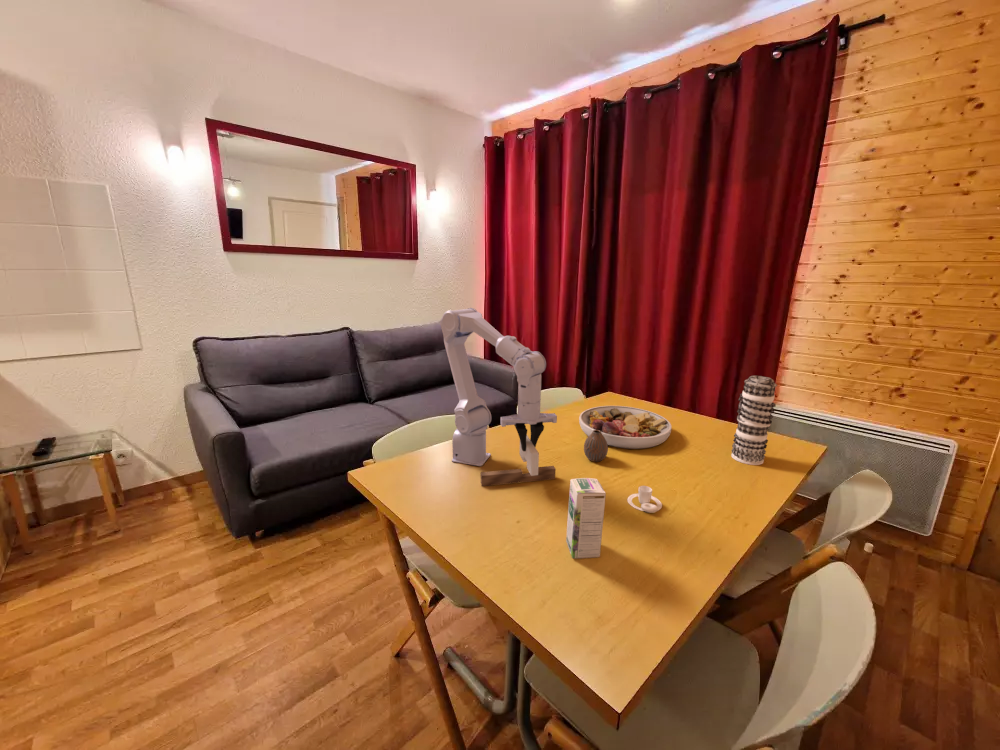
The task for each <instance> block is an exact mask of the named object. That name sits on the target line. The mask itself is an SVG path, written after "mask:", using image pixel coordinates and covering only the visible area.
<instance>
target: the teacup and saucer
mask: <svg viewBox="0 0 1000 750" xmlns="http://www.w3.org/2000/svg"><path fill="white" fill-rule="evenodd" d="M652 493H653V489H652V487H650V486H647V485H640V486H638V493H632V494H630V495H628V497H627V499H626V501H627V503H628V505H630V506H631V507H632V508H634V509H636V510H638V511H641V512H645V513H648V514H649V513H651V514H652V513H656V512H659V511H660V510H661V509H662V507H663V503H662V502H661V501H660V499H658V498H657V497H656V496H653V495H652ZM636 497H638V503H640V504H641V505H640V507H639V506H637V505H635V503H633V499H634V498H636ZM651 500H652V501H654V503H656V504H654V503H650V502H651Z"/></svg>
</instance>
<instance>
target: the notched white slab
mask: <svg viewBox="0 0 1000 750" xmlns="http://www.w3.org/2000/svg"><path fill="white" fill-rule="evenodd" d="M519 457H520V458H521V460H522V462H523V463H525V462H526V468H527V471H528V473H530V475H531V476H535V475H538V467H539V465H540V463H539V462H540V453H539V451H538V450H537V448H536V447H535V446H534V445H533V443H532V442H531V440H530V437H529V435H527V436H526V451H523V450H522V448H521V442H520V441H519Z"/></svg>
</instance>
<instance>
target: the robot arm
mask: <svg viewBox="0 0 1000 750" xmlns="http://www.w3.org/2000/svg"><path fill="white" fill-rule="evenodd" d="M439 324H440V328H441V331H442V335H443V343H444V347H445V351H446V354H447V355H446V356H447V359H448V362H449V366H450V370H451V374H452V378H453V382H454V385H455V390H456V393H457V397H458V400H459V402H458V403H457V405H456V407H454V410H453V411H454V416H455V418H454V423H455V427H456V429H455V430H454V432H453V435H452V439H451V440H452V443H451V444H452V459H451V462H453V463H458V464H465V465H470V466H478V467H483V465H484V464H485V462H487V460H488V459H489V458H490V457H491V455H492V454H491V453H490V452H487V430H488V426H489V425H490V424H491V422H492V414H491V411H490V409H489V408H488V407H487V403H486V400H485V399H483V398H481V397H480V396H478V393H477V388H476V385H475V384H476V383H475V380H474V377H473V373H472V369H471V365H470V360H469V358H468V354H467V350H466V345H465V343H466V341H467V339H468V338H469V337H470V336H471V335H472V334H473V333H475V334H476V335H478V336H479V337H481V338H483V340H485V341H486V342H488V343H489V344H491V345H492V346H494V347H495V353H496V355H498V356H499V357H501V358H502V359H503V360H505V361H506V362H507V363H508V364H510V365H511V366H512V367H513V371H514V373H515V375H516V378H517V379H516V381H517V384H518V389H517V393H518V394H517V413H516V414H515V413H514V414H511V415H506V416H500V423H499V424H500V426H501V427H502V428H504V427H506V426H513V425H514V428H515V430H516V432H517V435H518V438H519V443H520V442H521V448H522V450H523V451H526V436H528V429H527V427H526V426H527V425H529V428H530V437H529V439H530V440H531V442H532V443H533V445H534V446H535V448H536V447H537V443H538V440H539V438H540V437H541V435H542V433H543V431H544V429H545V425H544V424H545V423H552V424H556V423H557V422H558V416H557V414H556V413H550V412H549V413H548V412H547V413H546V412H541V399H542V398H541V397H542V396H541V394H542V373H544V372H545V371H546V368H547V361H546V358H545V356H544V355H543V354H542V353H541V352H540V351H532V350H531V349H530V348H529V347H528V346H527V347H526V346H525V345H523V344H522V343H520V342H519V341H518V340H517V337H516V336H514V335H513V336H511V335H503V334H501V332H499V331H498V330H497V329H495V327H494V326H492V325H491V324H490V323H489V322H488V321H487V320H486V319H485V318H483V313H481V312H480V311H478V310H477V309H475V308H473V307H470V308H463V309H455V310H454V309H453V310H452V309H449V310H445V311H444V313H442V316H441V319H440V321H439Z"/></svg>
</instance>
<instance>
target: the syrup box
mask: <svg viewBox="0 0 1000 750" xmlns="http://www.w3.org/2000/svg"><path fill="white" fill-rule="evenodd" d="M569 481H570V482H569V483H570V484H569V493H568V494H569V497H568V505H567V506H568V509H567V523H566V524H567V525H566V537H565V538H566V539H565V541H566V544H567V548H568V549H569V553H570V555H571V558H572V559H589V558H590V559H591V558H600V557H601V551H602V550H601V546H602V537H603V527H604V526H603V524H604V516H605V515H604V514H605V506H606V494H607V493H606V491H605V490H604V488H603V486H602V485H601V483H600V481H599V480H598V479H597V478H594V477H593V478H591V477H580V478H579V477H578V478H571V479H570V480H569Z"/></svg>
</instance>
